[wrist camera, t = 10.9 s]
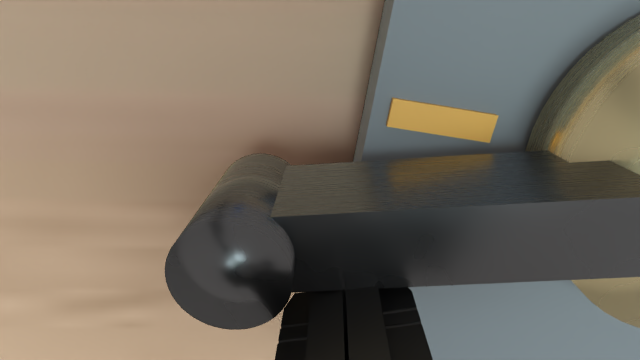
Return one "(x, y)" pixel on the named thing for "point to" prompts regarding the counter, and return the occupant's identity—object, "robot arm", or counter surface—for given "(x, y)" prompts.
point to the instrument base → (488, 152)
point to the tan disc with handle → (435, 212)
